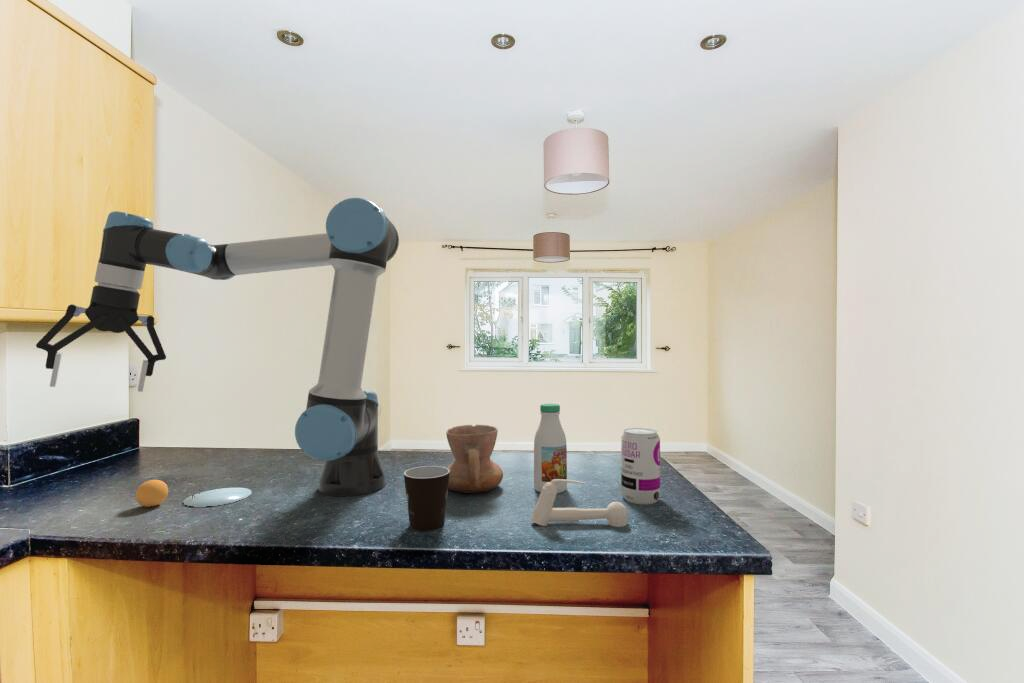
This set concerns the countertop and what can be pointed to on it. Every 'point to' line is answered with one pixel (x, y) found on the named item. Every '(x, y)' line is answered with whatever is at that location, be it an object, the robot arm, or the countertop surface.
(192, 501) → the disc
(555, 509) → the faucet
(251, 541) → the countertop surface
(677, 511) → the countertop surface
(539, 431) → the milk bottle
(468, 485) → the ceramic jug
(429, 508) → the brown cup
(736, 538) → the countertop surface
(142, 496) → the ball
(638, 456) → the supplement can
